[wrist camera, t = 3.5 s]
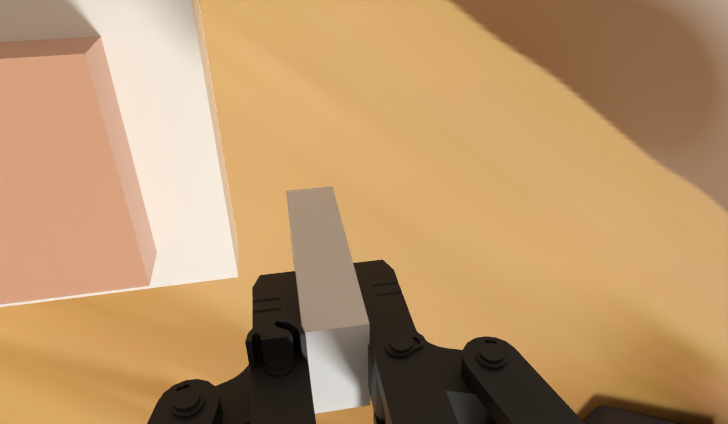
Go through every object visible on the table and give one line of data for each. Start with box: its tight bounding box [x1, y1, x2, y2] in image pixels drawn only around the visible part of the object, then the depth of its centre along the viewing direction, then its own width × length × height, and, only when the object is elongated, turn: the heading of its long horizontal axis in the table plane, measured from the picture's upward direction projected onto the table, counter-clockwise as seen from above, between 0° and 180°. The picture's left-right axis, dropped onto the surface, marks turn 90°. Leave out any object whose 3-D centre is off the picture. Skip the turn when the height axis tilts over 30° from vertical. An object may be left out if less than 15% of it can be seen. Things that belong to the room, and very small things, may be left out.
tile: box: [0, 37, 157, 305], centre depth 21 cm, size 10×7×2 cm
